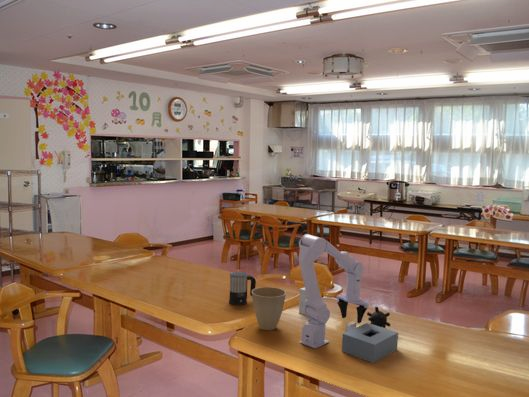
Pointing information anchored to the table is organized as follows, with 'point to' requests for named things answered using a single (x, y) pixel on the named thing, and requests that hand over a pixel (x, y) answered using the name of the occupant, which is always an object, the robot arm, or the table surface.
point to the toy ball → (378, 318)
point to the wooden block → (350, 326)
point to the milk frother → (240, 287)
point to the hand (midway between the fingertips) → (351, 320)
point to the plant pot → (268, 306)
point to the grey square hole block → (369, 342)
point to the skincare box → (302, 300)
